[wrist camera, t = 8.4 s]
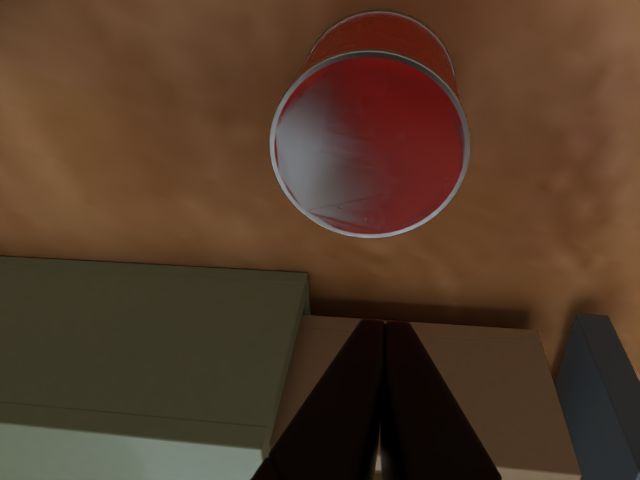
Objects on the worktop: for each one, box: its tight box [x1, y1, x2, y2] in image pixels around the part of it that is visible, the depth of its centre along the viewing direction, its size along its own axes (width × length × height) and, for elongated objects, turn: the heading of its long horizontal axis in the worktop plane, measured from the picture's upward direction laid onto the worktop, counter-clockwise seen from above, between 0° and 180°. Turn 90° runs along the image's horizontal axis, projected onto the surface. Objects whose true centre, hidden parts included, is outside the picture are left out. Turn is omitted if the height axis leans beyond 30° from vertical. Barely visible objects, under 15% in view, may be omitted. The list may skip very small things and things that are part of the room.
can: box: [269, 10, 471, 238], centre depth 16 cm, size 5×5×5 cm
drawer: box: [269, 314, 640, 480], centre depth 21 cm, size 21×11×7 cm, turn 92°
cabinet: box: [0, 256, 310, 480], centre depth 23 cm, size 17×13×9 cm
